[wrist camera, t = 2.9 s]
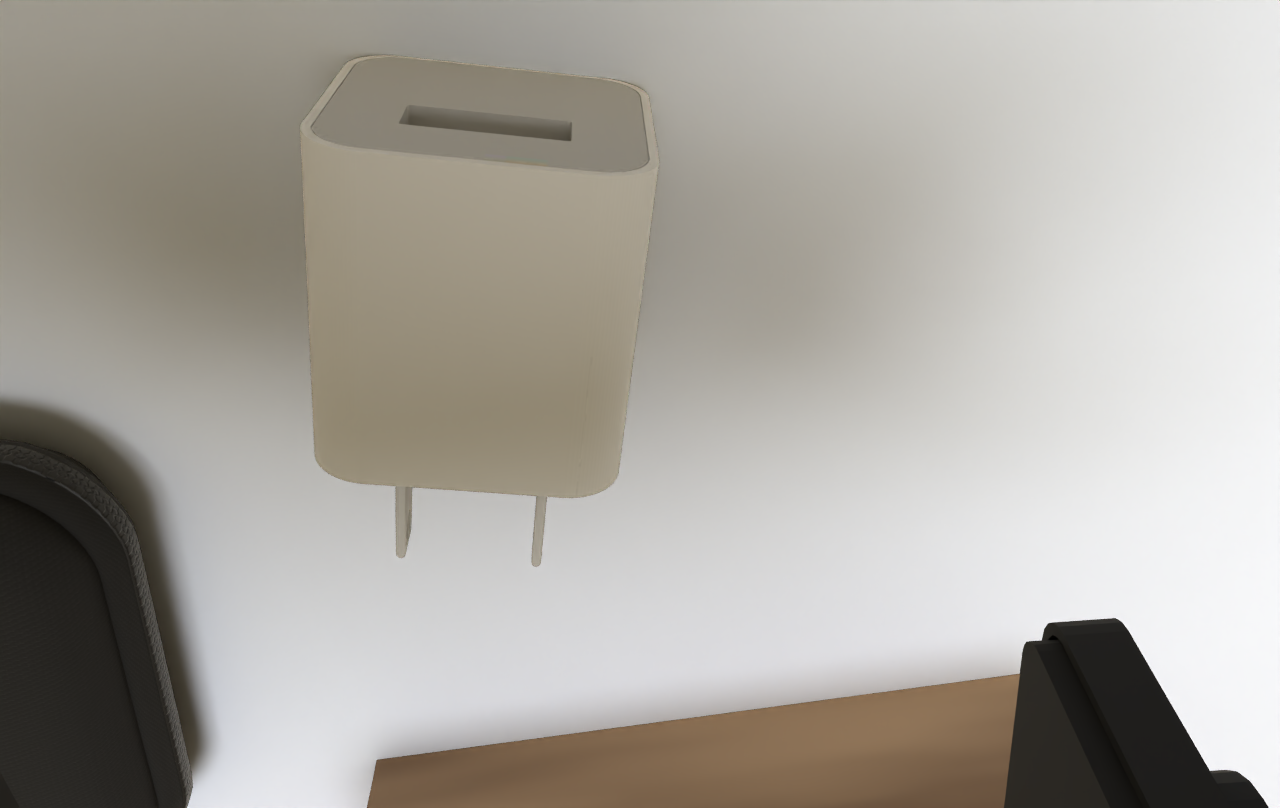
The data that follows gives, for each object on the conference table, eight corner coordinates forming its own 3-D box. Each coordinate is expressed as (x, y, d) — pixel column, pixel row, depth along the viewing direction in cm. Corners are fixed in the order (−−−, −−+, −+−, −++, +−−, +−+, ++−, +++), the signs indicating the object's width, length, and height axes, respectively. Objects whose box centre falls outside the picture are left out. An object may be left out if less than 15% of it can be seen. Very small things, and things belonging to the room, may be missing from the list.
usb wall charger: (646, 81, 15) (663, 181, 12) (597, 483, 19) (600, 649, 15) (355, 49, 15) (285, 143, 11) (362, 466, 18) (311, 632, 15)
